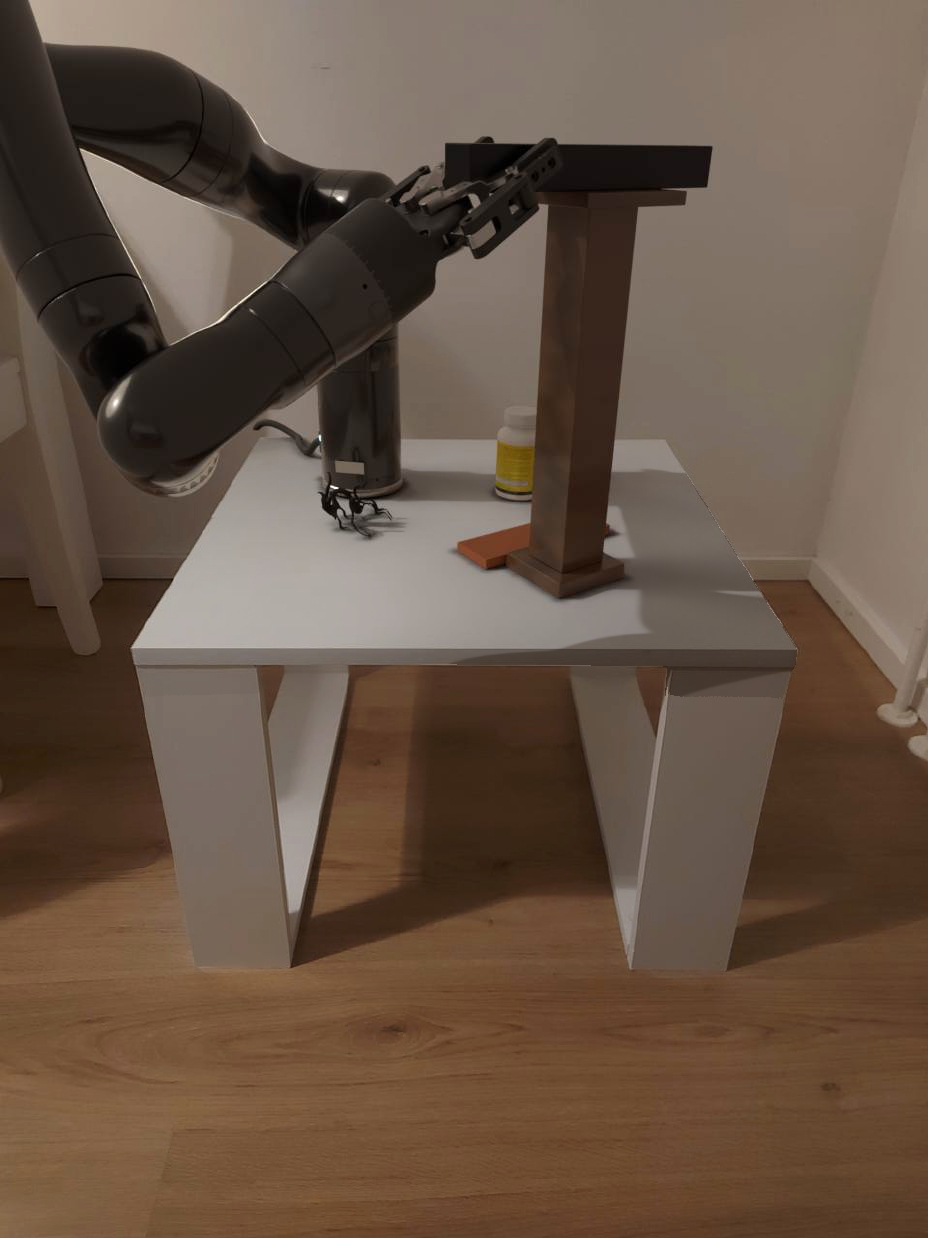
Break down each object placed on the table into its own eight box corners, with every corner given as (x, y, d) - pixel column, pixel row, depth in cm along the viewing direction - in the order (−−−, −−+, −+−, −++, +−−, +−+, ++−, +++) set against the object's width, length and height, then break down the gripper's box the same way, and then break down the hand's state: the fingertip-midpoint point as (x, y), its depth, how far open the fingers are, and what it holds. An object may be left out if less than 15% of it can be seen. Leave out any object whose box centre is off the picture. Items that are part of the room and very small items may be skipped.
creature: (392, 519, 97) (322, 503, 96) (402, 475, 94) (330, 457, 93) (385, 549, 90) (309, 531, 89) (395, 501, 87) (317, 483, 87)
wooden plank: (457, 550, 87) (457, 541, 87) (578, 518, 95) (578, 509, 95) (486, 569, 83) (486, 560, 83) (609, 533, 91) (610, 524, 91)
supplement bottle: (538, 503, 99) (543, 418, 94) (491, 499, 99) (494, 415, 95) (544, 487, 103) (549, 405, 98) (499, 483, 104) (502, 402, 99)
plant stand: (491, 565, 84) (503, 185, 68) (570, 542, 89) (599, 184, 73) (557, 606, 77) (588, 193, 61) (638, 579, 82) (687, 190, 66)
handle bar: (444, 142, 59) (470, 143, 57) (684, 144, 71) (713, 145, 69) (444, 191, 60) (469, 194, 58) (679, 185, 73) (707, 187, 71)
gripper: (377, 246, 52) (572, 92, 55) (278, 226, 62) (447, 97, 65) (431, 351, 57) (607, 204, 60) (331, 316, 67) (486, 192, 70)
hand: (523, 149), depth 62 cm, fingers open, 7 cm apart
